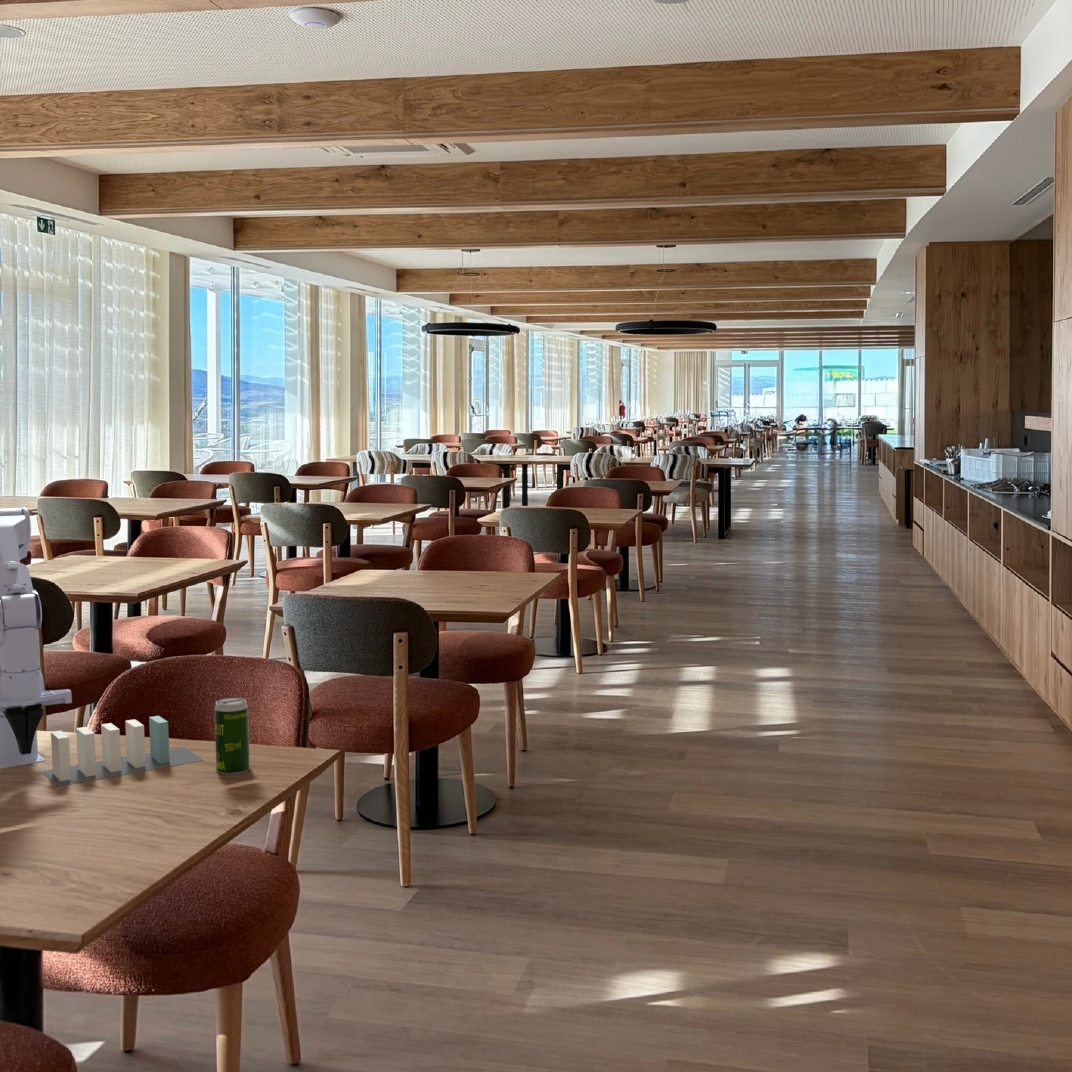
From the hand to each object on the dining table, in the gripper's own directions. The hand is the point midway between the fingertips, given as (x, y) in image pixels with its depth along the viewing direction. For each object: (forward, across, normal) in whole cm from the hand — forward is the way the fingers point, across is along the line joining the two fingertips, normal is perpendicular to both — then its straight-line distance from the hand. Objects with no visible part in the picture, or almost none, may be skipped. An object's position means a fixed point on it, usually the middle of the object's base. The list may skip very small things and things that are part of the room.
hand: (25, 752), depth 188 cm
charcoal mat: (+5, +15, 0) cm, 16 cm away
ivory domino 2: (+5, +9, 0) cm, 11 cm away
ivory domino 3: (+5, +13, 0) cm, 14 cm away
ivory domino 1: (+5, +5, 0) cm, 7 cm away
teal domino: (+5, +21, 0) cm, 22 cm away
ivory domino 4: (+5, +17, 0) cm, 18 cm away
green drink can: (+6, +29, -13) cm, 33 cm away
